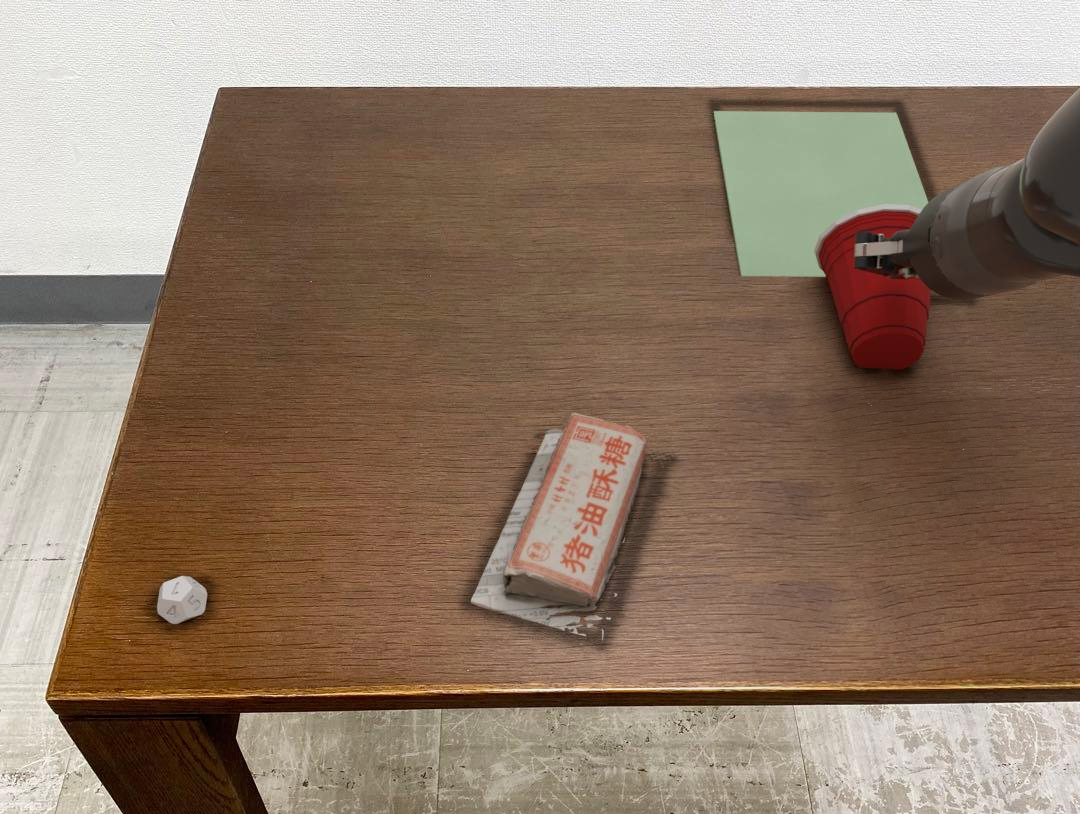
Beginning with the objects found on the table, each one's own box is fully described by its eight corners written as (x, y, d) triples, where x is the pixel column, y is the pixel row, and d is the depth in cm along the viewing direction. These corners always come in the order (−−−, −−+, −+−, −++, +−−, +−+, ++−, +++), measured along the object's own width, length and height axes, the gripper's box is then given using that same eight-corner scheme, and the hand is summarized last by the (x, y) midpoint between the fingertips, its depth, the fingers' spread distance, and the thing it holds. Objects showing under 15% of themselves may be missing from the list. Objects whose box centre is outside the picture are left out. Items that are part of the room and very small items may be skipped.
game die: (220, 594, 75) (209, 570, 73) (202, 637, 73) (190, 614, 71) (174, 587, 76) (162, 564, 73) (154, 630, 73) (141, 607, 71)
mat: (895, 115, 113) (896, 112, 113) (965, 312, 94) (966, 308, 94) (713, 114, 113) (713, 110, 113) (745, 310, 94) (746, 306, 94)
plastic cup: (822, 316, 82) (815, 202, 87) (818, 392, 92) (812, 286, 97) (967, 305, 80) (951, 189, 85) (947, 385, 89) (934, 277, 94)
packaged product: (548, 396, 81) (672, 426, 79) (547, 438, 85) (665, 468, 83) (466, 576, 70) (606, 615, 69) (469, 614, 74) (602, 652, 73)
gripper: (1102, 173, 65) (985, 218, 82) (891, 171, 65) (818, 216, 82) (1091, 295, 66) (978, 314, 83) (884, 293, 66) (814, 312, 83)
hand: (899, 265), depth 82 cm, fingers closed
